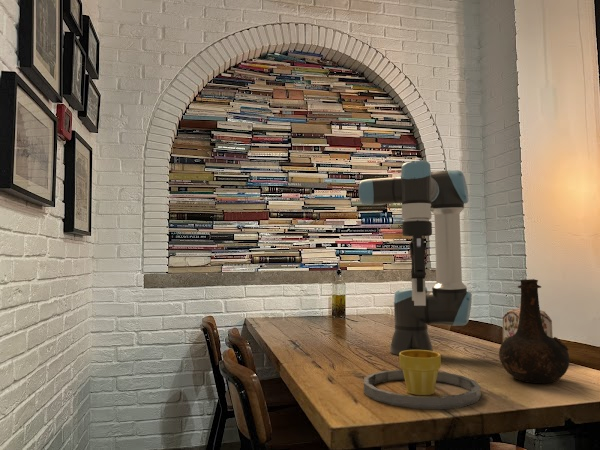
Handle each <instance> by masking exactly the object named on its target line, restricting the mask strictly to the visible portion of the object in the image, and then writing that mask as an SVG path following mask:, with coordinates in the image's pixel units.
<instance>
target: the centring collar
mask: <svg viewBox="0 0 600 450" xmlns="http://www.w3.org/2000/svg"><path fill="white" fill-rule="evenodd" d="M401 380H402V381H403V380H404V381H405V378H404V374H403V369H391V370H382V371H377V372H374V373H370V374H368V375H367V376H365V377H364V378H363V394H364V395H366V396H367V397H369V398H370V399H372V400H374V401H377V402H380V403H383V404H386V405H389V406H396V407H400V408H401V407H402V408H409V409H416V410H417V409H418V410H419V409H420V410H447V409H457V407H460V408H465V407H468V406H471V405H474V404H476V402H477V403H478V401H479V400H480V398H481V397H482V396H481V393H482V392H481V385H480V384H479V383H477V381H476V380H474V379H471V378H468V377H466V376H464V375H459V374H455V373H450V372H446V371H439V370H438V374H437V379H436V383H437V382H439V383H444V382H445V383H444V384H450V385H453V384H454V386H457V385H459V386H458V387H460V386H461V387H460V388H463V389H465V388H466V389H465V390H467V389H468V391H466V392H464V393H463V392H462V393H460V394H452V395H441V396H440V395H439V396H434V395H433V396H432V395H414V394H405V393H404V394H403V393H398V392H392V391H387V390H384V389H381V388H377V387H376V386H374V385H376V384H380V383H381V384H382V383H384V382H389V381H401ZM470 390H471V391H470ZM473 403H474V404H473ZM470 404H471V405H470ZM467 405H468V406H467ZM464 406H465V407H464Z"/></svg>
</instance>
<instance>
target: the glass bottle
mask: <svg viewBox="0 0 600 450" xmlns="http://www.w3.org/2000/svg"><path fill="white" fill-rule="evenodd" d="M538 282H539V280H538V279H535V278H532V279H531V278H530V279H529V278H527V279H526V278H525V279H521V280H520V285H517V288H518V289H520V304H521V306H520V318H519V324H518V329H517V332H516V333H515V334H514V335H513V336H511V337H509V338H507V339H506V340H505V341H504V342H503V341H502V343H501V344H500V347H499V350H498V358H499V361H500V363H501V366H502V367H503V369H504V370H505V371H506V372H507V374H509V375H510V376H511V377H513V378H514V379H516V380H519V381H522V382H526V383H530V384H532V383H533V384H548V383H553V382H557V381H558V380H560V379H561V378H563V377H564V375H565V374H566V373H567V371H568V370H569V366H570V355H569V348H568V346H567V345H566V344H564V343H563V342H562V340H560V339H559V338H558V337H556V336H553V338H551V337H549V336H547V334H546V333H545V331H544V328H543V325H542V320H541V314H540V310H541V309H540V301H539V291H538V290H539V289H540V288H542V286H541V285H539V284H538Z"/></svg>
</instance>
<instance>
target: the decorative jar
mask: <svg viewBox="0 0 600 450" xmlns="http://www.w3.org/2000/svg"><path fill="white" fill-rule="evenodd" d="M520 306H521V303H520V304H518V308H512V309H509V310H507V311H506V313H504V315H503V316H502V343H503V342H504V341H505V340H506V339H507V338H509V337H511V336H513V335H514V334H515V333H516V332H517V329H518V324H519V318H520ZM540 314H541V320H542V325H543V328H544V331H545V333H546V334H547V336H549V337H551V338H554V336H553V321H552V318H551V317H550V316H549V314H548V313H546V311H544V310H541V309H540Z"/></svg>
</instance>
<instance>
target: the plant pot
mask: <svg viewBox="0 0 600 450" xmlns="http://www.w3.org/2000/svg"><path fill="white" fill-rule="evenodd" d="M398 357H399V362H398V363H399V366H400V368H401V370H403V374H404V378H405V379H404V382H405V387H406V391H407V393H408V394H409V395H413V396H432V395H433V394H434V393H435V389H436V384H437V381H436V379H437V374H438V371H439V370H440V369H441V366H442V357H441V354H440V353H439V352H437V351H434V350H433V351H428V350H406V351H402V352H400V353H399V355H398Z"/></svg>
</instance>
